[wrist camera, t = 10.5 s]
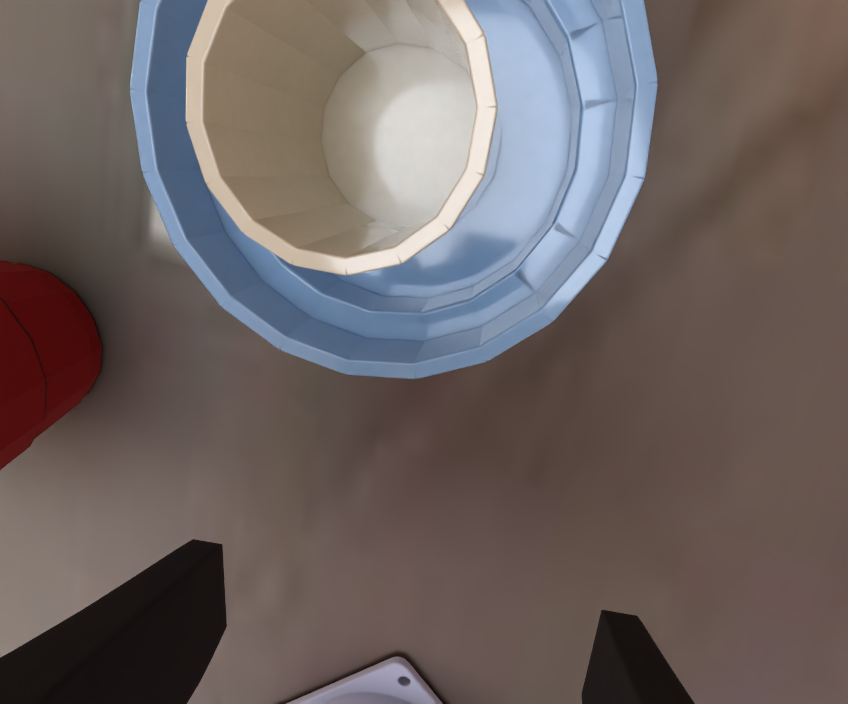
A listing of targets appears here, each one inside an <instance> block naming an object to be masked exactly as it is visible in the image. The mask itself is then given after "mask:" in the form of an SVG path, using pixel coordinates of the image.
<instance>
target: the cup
mask: <svg viewBox="0 0 848 704" xmlns="http://www.w3.org/2000/svg"><path fill="white" fill-rule="evenodd" d="M187 55H188V57H187V58H186V122H187V124H186V125H187V129H188V132H189V135H190V138H191V141H192V144H193V147H194V150H195V153H196V156H197V159H198V162H199V165H200V168H201V171H202V174H203V177H204V180H205V183H206V184H207V187H208V188H209V189H210V191H211V192H212V193H213V195H214V196H215V197H216V199H217V200H218V201H219V202H220V204H221V205H222V206H223V208H224V209H225V210H226V212H227V213H228V214H229V216H230V217H231V218H232V220H233V221H234V222H235V224H236V225H237V226H238V228H239V229H240V230H241V232H243V233H244V234H245V235H246V236H248V237H249V238H251V239H252V240H254V241H255V242H257V243H258V244H260V245H261V246H263V247H265V248H266V249H268V250H269V251H271V252H272V253H274V254H275V255H277V256H278V257H280V258H282V259H283V260H285V261H286V262H288V263H289V264H293V265H294V266H298V267H303V268H308V269H313V270H318V271H323V272H328V273H334V274H339V275H344V276H346V275H348V276H350V275H355V274H360V273H365V272H369V271H374V270H379V269H383V268H388V267H393V266H397V265H401V264H403V263H405V262H407V261H408V260H409V259H411V258H412V257H414V256H415V255H416V254H418V253H419V252H421V251H422V250H423V249H425V248H426V247H428V246H429V245H430V244H432V243H433V242H435V241H436V240H438V239H439V238H440V237H442V236H443V235H445V234H446V233H447V232H449V231H450V230H451V229H452V228H453V227H454V226H455V225H456V224H457V223H458V222H459V221H460V220H461V219H462V218H463V217H464V216H465V215H467V214H468V213H469V212H470V211H471V210H472V209H473V208H474V206H475V204H476V203H477V201H478V200H479V198H480V197H481V195H482V194H483V192H484V191H485V189H486V187H487V186H488V184H489V182H490V181H491V179H492V178H493V175H494V172H495V167H496V162H497V158H498V153H499V147H500V142H501V137H502V136H501V134H502V132H501V125H500V117H499V110H498V102H497V97H496V91H495V85H494V79H493V74H492V68H491V62H490V56H489V51H488V45H487V39H486V36H485V34H484V31H483V29H482V28H481V26H480V24H479V23H478V21H477V19H476V18H475V16H474V15H473V13H472V11H471V10H470V8H469V6H468V5H467V3H466V2H465V0H208V1H207V4H206V6H205V9H204V11H203V14H202V17H201V19H200V22H199V24H198V27H197V30H196V32H195V35H194V37H193V40H192V43H191V45H190V48H189V50H188V53H187Z"/></svg>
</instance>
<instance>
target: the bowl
mask: <svg viewBox="0 0 848 704" xmlns="http://www.w3.org/2000/svg"><path fill="white" fill-rule="evenodd" d="M207 1H208V0H142V1H140V5H139V14H138V22H137V30H136V39H135V47H134V56H133V64H132V72H131V81H130V88H131V90H130V95H131V102H132V109H133V115H134V122H135V129H136V135H137V142H138V149H139V155H140V162H141V169H142V172H143V176H144V178H145V181H146V183H147V185H148V188H149V190H150V192H151V195H152V197H153V199H154V202H155V204H156V206H157V209H158V211H159V213H160V216H161V218H162V220H163V223H164V225H165V227H166V230H167V232H168V234H169V237H170V239H171V241H172V244H173V245H174V246H175V249H176V250H177V251H178V253H179V254H180V255H181V257H182V258H183V259H184V260H185V262H186V263H187V264H188V265H189V267H190V268H191V269H192V271H193V272H194V273H195V274H196V276H197V277H198V278H199V279H200V281H201V282H202V283H203V285H204V286H205V287H206V288H207V290H208V291H209V292H210V293H211V295H212V296H213V297H214V299H215V300H216V301H217V302H218V304H219V305H220V306H222V308H223V309H225V310H226V311H227V312H229V313H230V314H231V315H233V316H234V317H236V318H237V319H238V320H240V321H241V322H242V323H244V324H245V325H246V326H248V327H249V328H250V329H252V330H253V331H254V332H256V333H257V334H258V335H260V336H261V337H263V338H264V339H265V340H267V341H268V342H269V343H271V344H272V345H273V346H275V347H276V348H277V349H280V350H281V351H283V352H286V353H289V354H292V355H294V356H297V357H300V358H302V359H305V360H308V361H310V362H313V363H316V364H318V365H321V366H324V367H326V368H329V369H332V370H334V371H337V372H340V373H343V374H347V375H358V376H374V377H390V378H406V379H416V378H417V379H419V378H423V377H427V376H431V375H436V374H440V373H444V372H448V371H452V370H456V369H460V368H464V367H468V366H473V365H477V364H481V363H485V362H486V361H489V360H491V359H493V358H494V357H496V356H498V355H499V354H501V353H503V352H504V351H506V350H508V349H509V348H511V347H513V346H514V345H516V344H518V343H519V342H521V341H523V340H524V339H526V338H528V337H529V336H531V335H533V334H534V333H536V332H537V331H539V330H541V329H542V328H544V327H546V326H547V325H549V324H551V322H553V321H554V320H555V319H556V318H557V317H558V316H559V315H560V314H561V312H562V311H563V310H564V309H565V308H566V307H567V306H568V305H569V303H570V302H571V301H572V300H573V299H574V298H575V297H576V296H577V295H578V293H579V292H580V291H581V290H582V289H583V288H584V287H585V286H586V284H587V283H588V282H589V281H590V280H591V279H592V278H593V277H594V275H595V274H596V273H597V272H598V271H599V270H600V269H601V268H602V266H603V265H604V264H605V263H606V261H607V259H608V258H609V257H610V254H611V252H612V250H613V248H614V246H615V244H616V241H617V239H618V237H619V235H620V233H621V231H622V228H623V226H624V224H625V222H626V220H627V217H628V215H629V213H630V211H631V209H632V207H633V204H634V202H635V200H636V198H637V196H638V193H639V191H640V189H641V187H642V185H643V183H644V178H645V176H646V170H647V163H648V156H649V148H650V141H651V133H652V126H653V118H654V111H655V103H656V96H657V88H658V83H656V82H657V81H658V78H657V72H656V66H655V60H654V55H653V49H652V43H651V37H650V32H649V26H648V20H647V14H646V9H645V3H644V0H465V2H466V3H467V5H468V6H469V8H470V10H471V11H472V13H473V15H474V16H475V18H476V19H477V21H478V23H479V24H480V26H481V28H482V29H483V31H484V34H485V36H486V39H487V45H488V51H489V56H490V62H491V68H492V74H493V79H494V85H495V91H496V97H497V102H498V110H499V117H500V125H501V132H502V134H501V136H502V137H501V142H500V147H499V153H498V158H497V162H496V167H495V172H494V175H493V178H492V179H491V181H490V182H489V184H488V186H487V187H486V189H485V191H484V192H483V194H482V195H481V197H480V198H479V200H478V201H477V203H476V204H475V206H474V208H473V209H472V210H471V211H470V212H469V213H468V214H467V215H465V216H464V217H463V218H462V219H461V220H460V221H459V222H458V223H457V224H456V225H455V226H454V227H453V228H452V229H451V230H450V231H449V232H447V233H446V234H445V235H443V236H442V237H440V238H439V239H438V240H436V241H435V242H433V243H432V244H430V245H429V246H428V247H426V248H425V249H423V250H422V251H421V252H419V253H418V254H416V255H415V256H414V257H412V258H411V259H409V260H408V261H407V262H405V263H403V264H401V265H397V266H393V267H388V268H383V269H379V270H374V271H369V272H365V273H360V274H355V275H350V276H348V275H346V276H344V275H339V274H334V273H328V272H323V271H318V270H313V269H308V268H303V267H298V266H294V265H293V264H289V263H288V262H286V261H285V260H283V259H282V258H280V257H278V256H277V255H275V254H274V253H272V252H271V251H269V250H268V249H266V248H265V247H263V246H261V245H260V244H258V243H257V242H255V241H254V240H252V239H251V238H249V237H248V236H246V235H245V234H244V233H243V232H241V230H240V229H239V228H238V226H237V225H236V224H235V222H234V221H233V220H232V218H231V217H230V216H229V214H228V213H227V212H226V210H225V209H224V208H223V206H222V205H221V204H220V202H219V201H218V200H217V199H216V197H215V196H214V195H213V193H212V192H211V191H210V189H209V188H208V187H207V184H206V183H205V180H204V177H203V174H202V171H201V168H200V165H199V162H198V159H197V156H196V153H195V150H194V147H193V144H192V141H191V138H190V135H189V132H188V129H187V125H186V124H187V122H186V58H187V57H188V55H187V53H188V50H189V48H190V45H191V43H192V40H193V37H194V35H195V32H196V30H197V27H198V24H199V22H200V19H201V17H202V14H203V11H204V9H205V6H206V4H207Z"/></svg>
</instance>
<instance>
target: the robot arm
mask: <svg viewBox="0 0 848 704" xmlns="http://www.w3.org/2000/svg"><path fill="white" fill-rule="evenodd" d="M226 627H227V624H226V605H225V587H224V568H223V549H222V544H217V543H212V542H206V541H200V540H194V539H193V540H191V541H189V542H188V543H186V544H184V545H183V546H181V547H180V548H178V549H176V550H175V551H173V552H172V553H170V554H169V555H167V556H166V557H164V558H162V559H161V560H159V561H158V562H156V563H155V564H153V565H152V566H150V567H149V568H147V569H146V570H144V571H142V572H141V573H139V574H138V575H136V576H135V577H133V578H132V579H130V580H129V581H127V582H125V583H124V584H122V585H121V586H119V587H118V588H116V589H114V590H113V591H111V592H110V593H108V594H107V595H105V596H103V597H102V598H100V599H99V600H97V601H96V602H94V603H92V604H91V605H89V606H88V607H86V608H85V609H83V610H81V611H80V612H78V613H76V614H75V615H73V616H71V617H70V618H68V619H66V620H64V621H63V622H61V623H59V624H58V625H56V626H54V627H53V628H51V629H49V630H47V631H46V632H44V633H42V634H41V635H39V636H37V637H36V638H34V639H32V640H30V641H29V642H27V643H25V644H24V645H22V646H20V647H19V648H17V649H15V650H13V651H12V652H10V653H8V654H6V655H4V656H3V657H1V658H0V704H187V702H188V701H189V699H190V697H191V696H192V694H193V692H194V691H195V689H196V687H197V686H198V684H199V682H200V681H201V679H202V677H203V675H204V673H205V671H206V669H207V667H208V665H209V663H210V661H211V659H212V657H213V655H214V652H215V650H216V648H217V646H218V644H219V642H220V640H221V637H222V635H223V633H224V631H225V629H226ZM403 676H404V677H403ZM405 677H407V678H405ZM286 704H443V703H442V702H441V701H440V700H439V698H438V697H437V696H436V695H435V694H434V692H433V691H432V690H431V689H430V687H429V686H428V685H427V684H426V683H425V681H424V680H423V679H422V678H421V677H420V675H419V674H418V673H417V672H416V671H415V669H414V668H413V667H412V666H411V665H410V663H409V662H408V661H407V660H406V659H404V658H402V657H392V658H390V659H387V660H385V661H383V662H381V663H378V664H376V665H374V666H371V667H369V668H367V669H365V670H362V671H360V672H358V673H355V674H353V675H351V676H348V677H346V678H344V679H342V680H339V681H337V682H335V683H332V684H330V685H328V686H325V687H323V688H321V689H319V690H316V691H314V692H312V693H309V694H307V695H305V696H302V697H300V698H298V699H296V700H293V701H291V702H289V703H286ZM582 704H695V703H694V702H693V700H692V699H691V697H690V696H689V695H688V693H687V692H686V690H685V688H684V687H683V685H682V684H681V682H680V681H679V679H678V678H677V676H676V675H675V673H674V672H673V670H672V669H671V667H670V666H669V664H668V663H667V661H666V659H665V658H664V656H663V655H662V653H661V652H660V650H659V648H658V647H657V645H656V644H655V642H654V641H653V639H652V637H651V636H650V634H649V633H648V631H647V630H646V628H645V626H644V625H643V623H642V622H641V621H640V619H639V618H638V617H637V616H635V615H629V614H623V613H617V612H612V611H606V610H602V611H601V615H600V619H599V623H598V628H597V632H596V636H595V640H594V644H593V649H592V653H591V657H590V661H589V665H588V670H587V674H586V678H585V682H584V686H583V691H582Z"/></svg>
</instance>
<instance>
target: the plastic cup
mask: <svg viewBox="0 0 848 704" xmlns="http://www.w3.org/2000/svg"><path fill="white" fill-rule="evenodd" d="M101 351H102V346H101V342H100V339H99V336H98V332H97V329H96V326H95V323H94V319H93V317H92V316H91V314H90V313H89V312H88V310H87V309H86V307H85V306H84V304H83V303H82V302H81V300H80V299H79V297H78V296H77V295H76V293H75V292H74V291H73V290H71V289H70V288H69V287H68V286H66V285H65V284H64V283H62V282H61V281H60V280H58V279H57V278H56V277H54V276H53V275H52V274H51V273H49V272H46V271H43V270H40V269H37V268H34V267H30V266H27V265H24V264H13V263H10V262H7V261H0V470H1V469H2V468H3V467H5V466H6V465H7V464H8V463H10V462H11V461H12V460H13V459H15V458H16V457H17V456H18V455H20V454H21V453H22V452H23V451H25V450H26V449H27V448H28V447H30V445H31V444H32V442H33V440H34V439H35V438H36V437H37V436H39V435H40V434H41V433H42V432H44V431H45V430H46V429H47V428H49V427H50V426H51V425H52V424H54V423H55V422H56V421H57V420H59V419H60V418H61V417H63V416H64V415H65V414H66V413H68V412H69V411H70V410H71V409H73V408H74V407H75V406H76V405H78V404H79V403H80V401H81V399H82V398H83V396H84V395H86V394H87V393H88V392H89V390H90V389H91V387H92V385H93V384H94V382H95V380H96V378H97V377H98V375H99V373H100V365H101Z"/></svg>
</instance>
